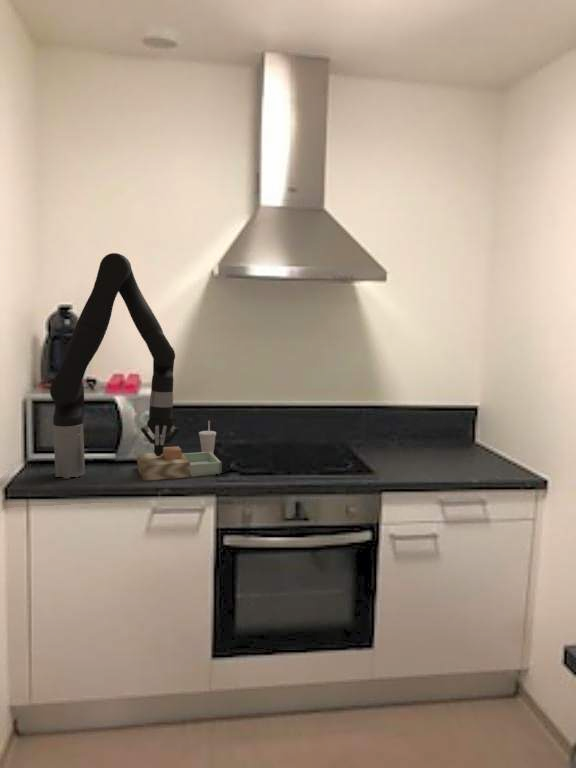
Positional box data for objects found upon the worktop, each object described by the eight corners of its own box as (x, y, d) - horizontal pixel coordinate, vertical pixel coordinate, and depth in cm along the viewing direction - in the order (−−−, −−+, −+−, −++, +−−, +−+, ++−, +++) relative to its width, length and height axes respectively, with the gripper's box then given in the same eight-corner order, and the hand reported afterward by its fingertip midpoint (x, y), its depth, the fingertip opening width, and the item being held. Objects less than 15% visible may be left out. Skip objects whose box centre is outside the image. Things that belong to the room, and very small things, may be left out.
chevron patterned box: (143, 480, 208) (143, 465, 207) (137, 468, 222) (137, 454, 222) (190, 476, 213) (189, 462, 212) (180, 464, 228) (180, 450, 227)
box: (190, 476, 213) (190, 465, 212) (181, 464, 228) (181, 453, 227) (221, 474, 216) (221, 462, 216) (210, 462, 231) (210, 451, 231)
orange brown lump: (165, 459, 214) (165, 451, 214) (162, 455, 219) (162, 447, 219) (181, 458, 216) (181, 449, 216) (178, 454, 221) (178, 446, 221)
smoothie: (213, 461, 233) (213, 422, 231) (196, 459, 234) (196, 422, 232) (218, 456, 239) (218, 419, 237) (202, 455, 241) (202, 418, 239)
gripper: (142, 405, 208) (139, 458, 210) (183, 406, 213) (180, 458, 215) (139, 402, 215) (136, 452, 217) (179, 403, 220) (176, 452, 222)
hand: (158, 455), depth 216 cm, fingers closed
